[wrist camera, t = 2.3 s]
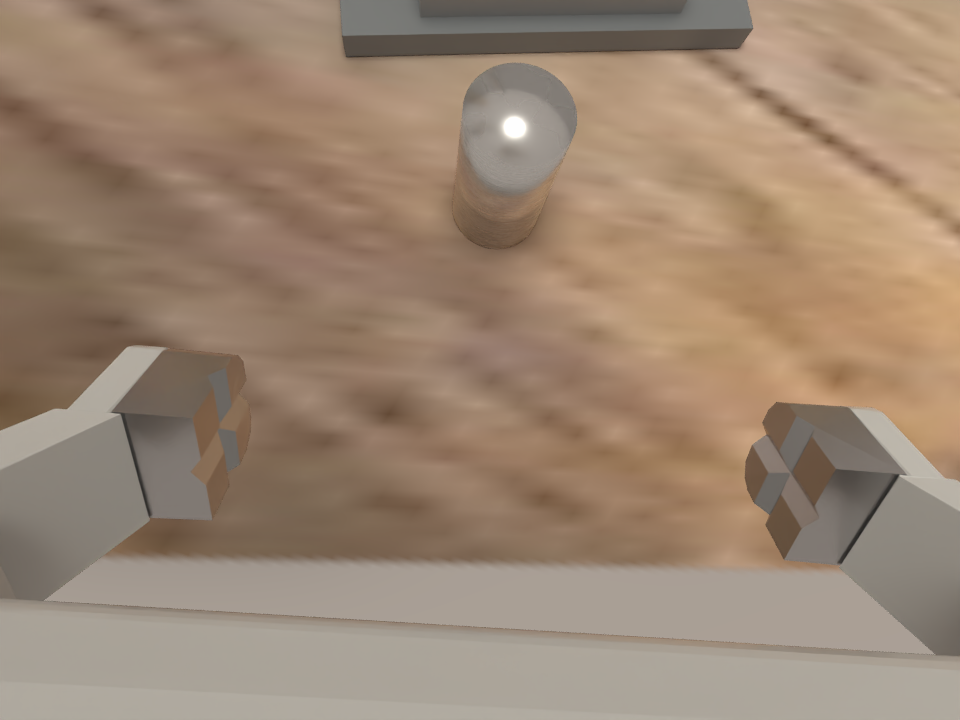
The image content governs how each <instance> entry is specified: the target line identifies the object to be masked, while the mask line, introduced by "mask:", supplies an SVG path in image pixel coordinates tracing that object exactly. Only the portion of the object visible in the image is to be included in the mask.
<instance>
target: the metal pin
mask: <svg viewBox="0 0 960 720" xmlns="http://www.w3.org/2000/svg"><path fill="white" fill-rule="evenodd" d="M576 125H577V112H576V107H575V104H574V101H573V98H572V96H571V94H570V93H569V91H568V90H567V88H566V87H565V86H564V85H563V83H562V82H561V81H560V80H559V79H557V78H556V77H555V76H554V75H552V74H551V73H549V72H548V71H546V70H544V69H542V68H539V67H537V66H533V65H530V64H524V63H507V64H502V65H498V66H495V67H492V68H490V69H488V70H486V71H485V72H483V73H482V74H480V75H479V76H478V77H477V78H476V79H475V80H474V81H473V83H472V84H471V85H470V87H469V89H468V90H467V93H466V95H465V99H464V103H463V111H462V121H461V130H460V139H459V148H458V157H457V166H456V175H455V185H454V194H453V203H452V211H453V217H454V220H455V222H456V224H457V226H458V228H459V229H460V231H461V232H462V233H463V234H464V235H465V236H466V237H467V238H468V239H469V240H471V241H472V242H474V243H476V244H477V245H480V246H483V247H486V248H492V249H502V248H508V247H511V246H514V245H516V244H518V243H520V242H521V241H523V240H524V239H525V238H526V237H527V236H528V235H529V234H530V233H531V231H532V230H533V228H534V226H535V224H536V221H537V219H538V217H539V214H540V212H541V210H542V208H543V205H544V203H545V201H546V198H547V196H548V194H549V191H550V189H551V187H552V185H553V182H554V180H555V178H556V175H557V173H558V171H559V168H560V166H561V164H562V162H563V159H564V157H565V155H566V152H567V150H568V148H569V145H570V143H571V141H572V138H573V136H574V133H575V130H576Z"/></svg>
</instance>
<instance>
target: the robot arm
mask: <svg viewBox="0 0 960 720" xmlns="http://www.w3.org/2000/svg"><path fill="white" fill-rule="evenodd" d="M245 382H246V375H245V368H244V362H243V360H242V359H241V358H240V357H239V356H238V355H231V354H222V353H212V352H203V351H193V350H184V349H174V348H170V349H168V348H166V347H153V346H141V345H135V346H130V347H127V348H126V349H125V350H124V351H123V352H122V353H121V354H120V355H119V356H118V357H117V358H116V359H115V360H114V361H113V362H112V363H111V364H110V365H109V366H108V367H107V368H106V369H105V370H104V371H103V373H102V374H101V375H100V376H99V377H98V378H97V379H96V380H95V381H94V382H93V383H92V384H91V385H90V386H89V387H88V388H87V389H86V390H85V391H84V392H83V393H82V394H81V395H80V396H79V397H78V399H77V400H76V401H75V402H74V403H73V404H72V405H71V406H70V407H69V408H68V409H53V410H50V411H48V412H46V413H43V414H41V415H38V416H36V417H33V418H31V419H28V420H26V421H23V422H21V423H18V424H16V425H13V426H11V427H8V428H6V429H3V430H1V431H0V720H960V482H959V481H957V480H954V479H945V478H944V477H943V476H942V475H941V474H940V473H939V472H938V471H937V470H936V469H935V468H934V466H933V465H932V464H931V463H930V462H929V461H928V460H927V459H926V458H925V457H924V456H923V455H922V454H921V453H920V452H919V451H918V449H917V448H916V447H915V446H914V445H913V444H912V443H911V442H910V441H909V440H908V439H907V438H906V437H905V436H904V435H903V434H902V432H901V431H900V430H899V429H898V428H897V427H896V426H895V425H894V424H893V423H892V422H891V421H890V420H889V419H888V418H887V417H886V415H885V414H884V413H883V412H881V411H879V410H876V409H874V408H872V407H853V406H827V405H812V404H797V403H782V402H776V403H775V404H774V405H773V406H772V407H771V408H770V409H769V410H768V412H767V414H766V416H765V418H764V420H763V422H762V423H763V426H764V429H765V431H766V434H767V435H765V436H764V437H762V438H761V439H760V440H758V441H757V442H755V443H754V444H753V445H752V447H751V449H750V452H749V454H748V457H747V459H746V465H745V481H746V485H747V490H748V492H749V494H750V496H751V498H752V500H753V502H754V503H755V504H756V505H757V506H759V507H760V508H761V509H763V510H764V511H765V512H767V513H768V514H769V517H768V520H767V522H766V527H767V529H768V531H769V533H770V534H771V536H772V538H773V540H774V542H775V544H776V546H777V548H778V549H779V551H780V553H781V555H782V557H783V559H784V560H790V561H800V562H811V563H821V564H831V565H841V566H840V567H839V568H840V569H841V570H842V571H843V572H844V573H845V574H846V575H848V576H849V577H850V578H851V579H852V580H853V581H854V582H855V583H857V584H858V585H859V586H860V587H861V588H862V589H863V590H864V591H865V592H867V593H868V594H869V595H870V596H871V597H872V598H873V599H874V600H875V601H877V602H878V603H879V604H880V605H881V606H882V607H883V608H884V609H885V610H887V611H888V612H889V613H890V614H891V615H892V616H893V617H894V618H895V619H897V620H898V621H899V622H900V623H901V624H902V625H903V626H904V627H906V628H907V629H908V630H909V631H910V632H911V633H912V634H913V635H914V636H915V637H917V638H918V639H919V640H920V641H921V642H922V643H923V644H924V645H925V646H927V647H928V648H929V649H930V650H931V651H932V652H933V653H934V654H936V655H930V654H914V653H895V652H880V651H879V652H878V651H863V650H846V649H831V648H815V647H799V646H782V645H766V644H750V643H734V642H717V641H701V640H685V639H669V638H652V637H636V636H635V637H634V636H618V635H602V634H585V633H569V632H552V631H535V630H519V629H502V628H486V627H470V626H453V625H436V624H420V623H403V622H385V621H370V620H353V619H352V620H351V619H336V618H320V617H304V616H287V615H270V614H254V613H237V612H221V611H204V610H188V609H171V608H155V607H138V606H122V605H105V604H89V603H72V602H56V601H43V600H45V599H46V598H47V597H49V596H50V595H51V594H53V593H54V592H55V591H57V590H58V589H59V588H61V587H62V586H63V585H65V584H66V583H67V582H69V581H70V580H71V579H73V578H74V577H75V576H77V575H78V574H79V573H81V572H82V571H83V570H85V569H86V568H87V567H89V566H90V565H91V564H93V563H94V562H95V561H97V560H98V559H99V558H101V557H102V556H103V555H105V554H106V553H107V552H109V551H110V550H111V549H113V548H114V547H115V546H117V545H118V544H119V543H121V542H122V541H123V540H125V539H126V538H127V537H129V536H130V535H131V534H133V533H134V532H135V531H137V530H138V529H139V528H141V527H142V526H143V525H145V524H146V523H148V522H149V521H150V519H149V518H170V519H194V520H213V518H214V516H215V514H216V512H217V510H218V508H219V506H220V504H221V502H222V500H223V498H224V496H225V494H226V492H227V490H228V488H229V480H228V473H227V472H229V471H230V470H232V469H233V468H235V467H237V466H238V465H240V463H241V461H242V459H243V457H244V455H245V452H246V450H247V446H248V441H249V437H250V432H251V413H250V404H249V403H248V402H247V401H246V400H245V399H244V398H243V397H242V396H241V394H240V393H239V392H240V390H241V389H242V387H243V385H244V383H245Z"/></svg>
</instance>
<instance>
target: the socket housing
mask: <svg viewBox="0 0 960 720" xmlns="http://www.w3.org/2000/svg"><path fill="white" fill-rule="evenodd" d="M340 9H341V24H342V37H343V43H344V49H345V54H346V57H350V56H396V55H442V54H487V53H533V52H579V51H624V50H670V49H716V48H739V47H740V46H741V45H742V43H743V42H744V40H745V39H746V38H747V36H748V35H749V34H750V32H751V31H752V29H753V25H752V20H751V16H750V11H749V7H748V2H747V0H340Z"/></svg>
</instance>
